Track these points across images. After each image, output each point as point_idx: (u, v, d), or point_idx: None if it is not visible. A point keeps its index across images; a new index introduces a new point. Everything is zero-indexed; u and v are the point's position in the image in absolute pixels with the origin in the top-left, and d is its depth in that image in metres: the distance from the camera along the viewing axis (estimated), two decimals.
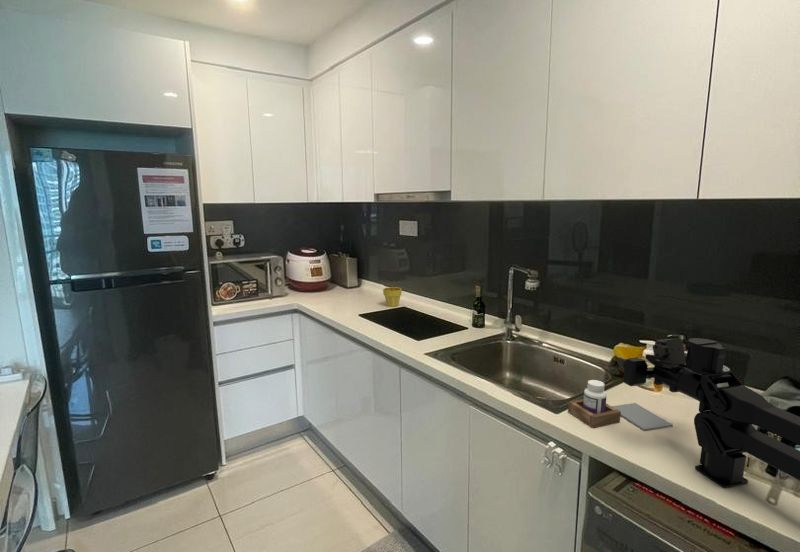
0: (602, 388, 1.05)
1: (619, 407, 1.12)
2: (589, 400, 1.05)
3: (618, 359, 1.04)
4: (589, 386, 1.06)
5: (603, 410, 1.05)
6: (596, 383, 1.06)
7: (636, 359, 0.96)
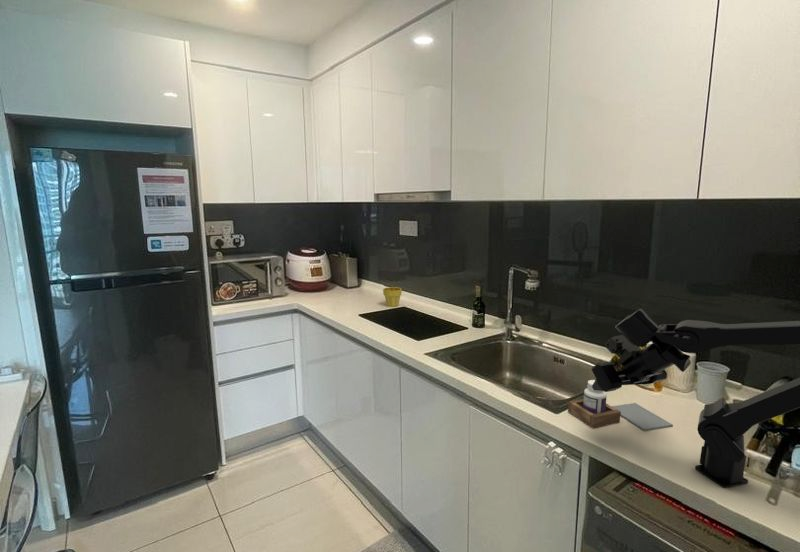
0: None
1: (619, 407, 1.12)
2: (589, 400, 1.06)
3: (593, 386, 1.00)
4: (589, 386, 1.06)
5: (603, 410, 1.05)
6: None
7: None
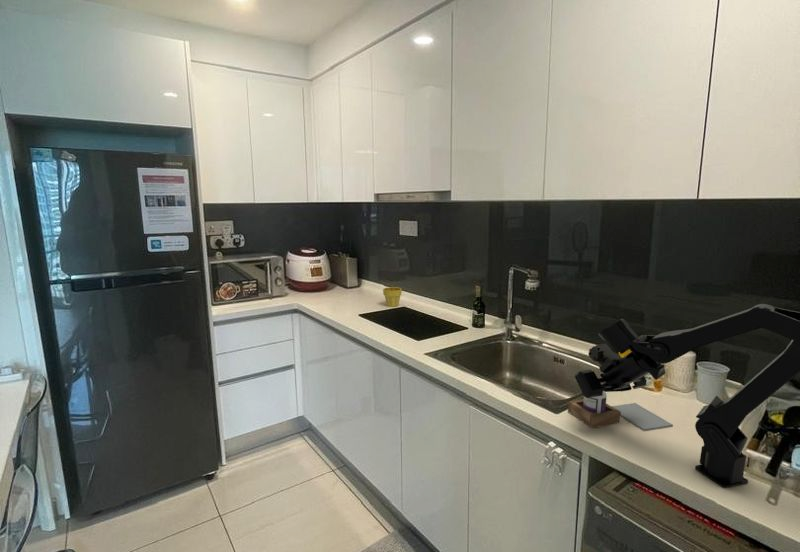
0: None
1: (619, 407, 1.12)
2: (589, 400, 1.06)
3: None
4: None
5: (603, 410, 1.05)
6: None
7: None
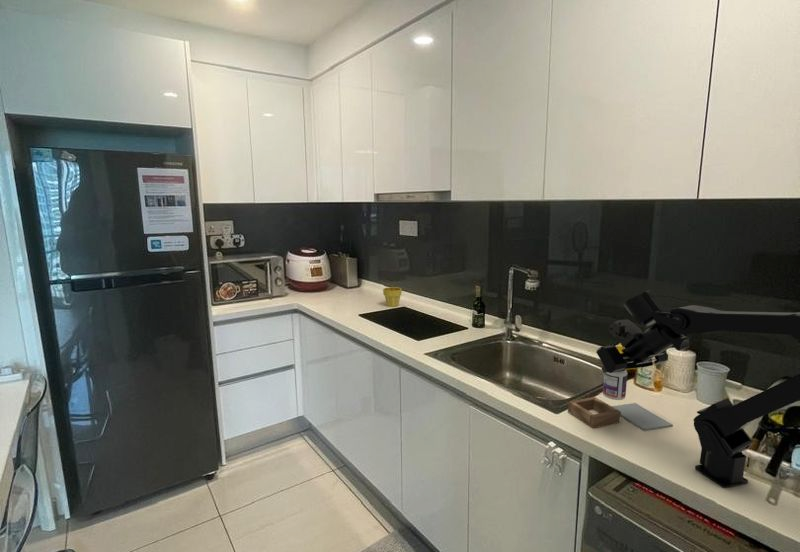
0: None
1: (619, 407, 1.12)
2: (610, 378, 1.04)
3: (603, 368, 1.05)
4: None
5: (624, 388, 1.04)
6: None
7: None
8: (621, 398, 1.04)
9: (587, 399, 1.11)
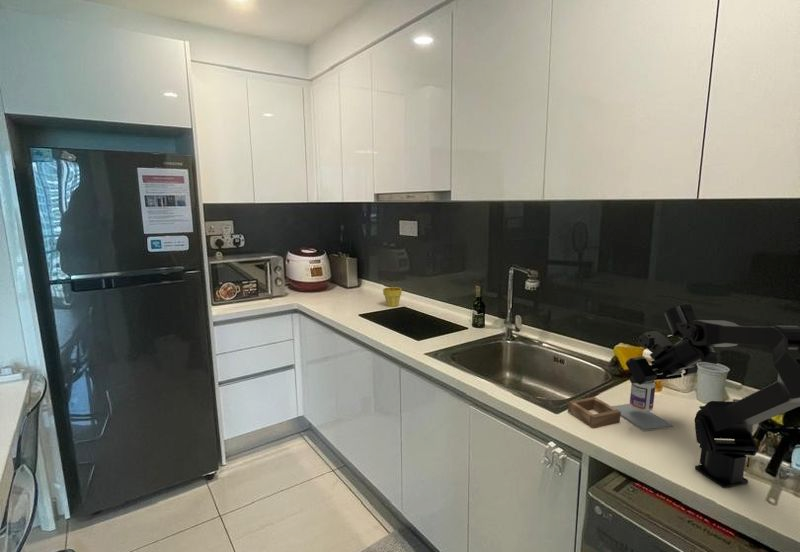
0: None
1: (619, 407, 1.12)
2: (638, 390, 1.05)
3: (631, 379, 1.06)
4: None
5: (652, 400, 1.05)
6: None
7: None
8: (649, 410, 1.05)
9: (587, 399, 1.11)
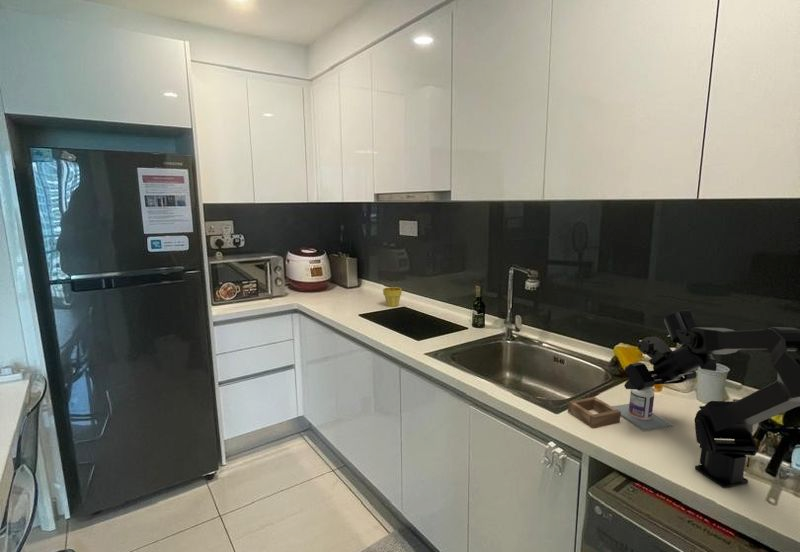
0: None
1: (619, 407, 1.12)
2: (637, 398, 1.05)
3: (626, 385, 1.06)
4: None
5: (651, 408, 1.05)
6: None
7: None
8: (647, 418, 1.05)
9: (587, 399, 1.11)
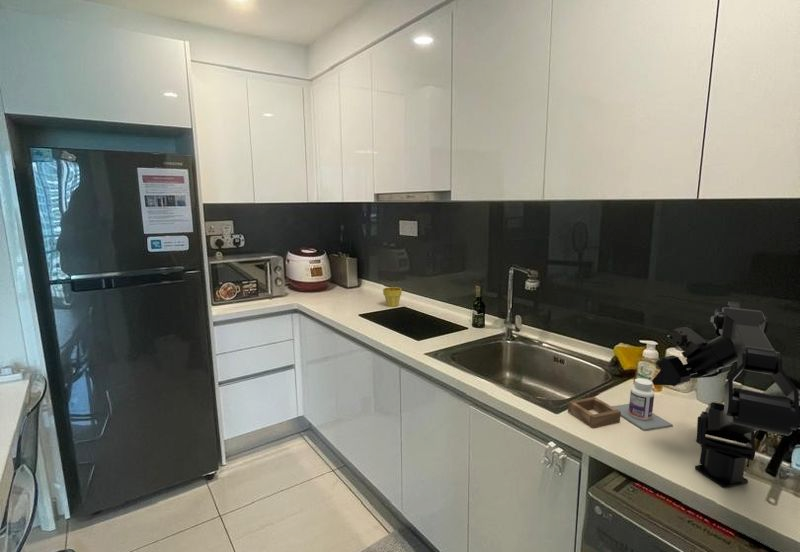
0: (650, 386, 1.05)
1: (619, 407, 1.12)
2: (637, 398, 1.05)
3: (654, 380, 0.97)
4: (637, 384, 1.06)
5: (651, 408, 1.05)
6: (643, 381, 1.06)
7: None
8: (647, 418, 1.05)
9: (587, 399, 1.11)
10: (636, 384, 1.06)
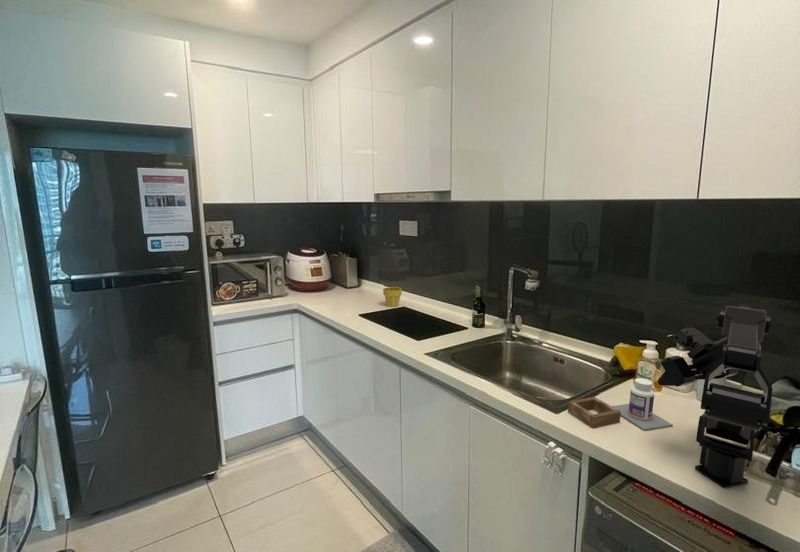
0: (650, 386, 1.05)
1: (619, 407, 1.12)
2: (637, 398, 1.05)
3: (659, 381, 0.96)
4: (637, 384, 1.06)
5: (651, 408, 1.05)
6: (643, 381, 1.06)
7: None
8: (647, 418, 1.05)
9: (587, 399, 1.11)
10: (636, 384, 1.06)
